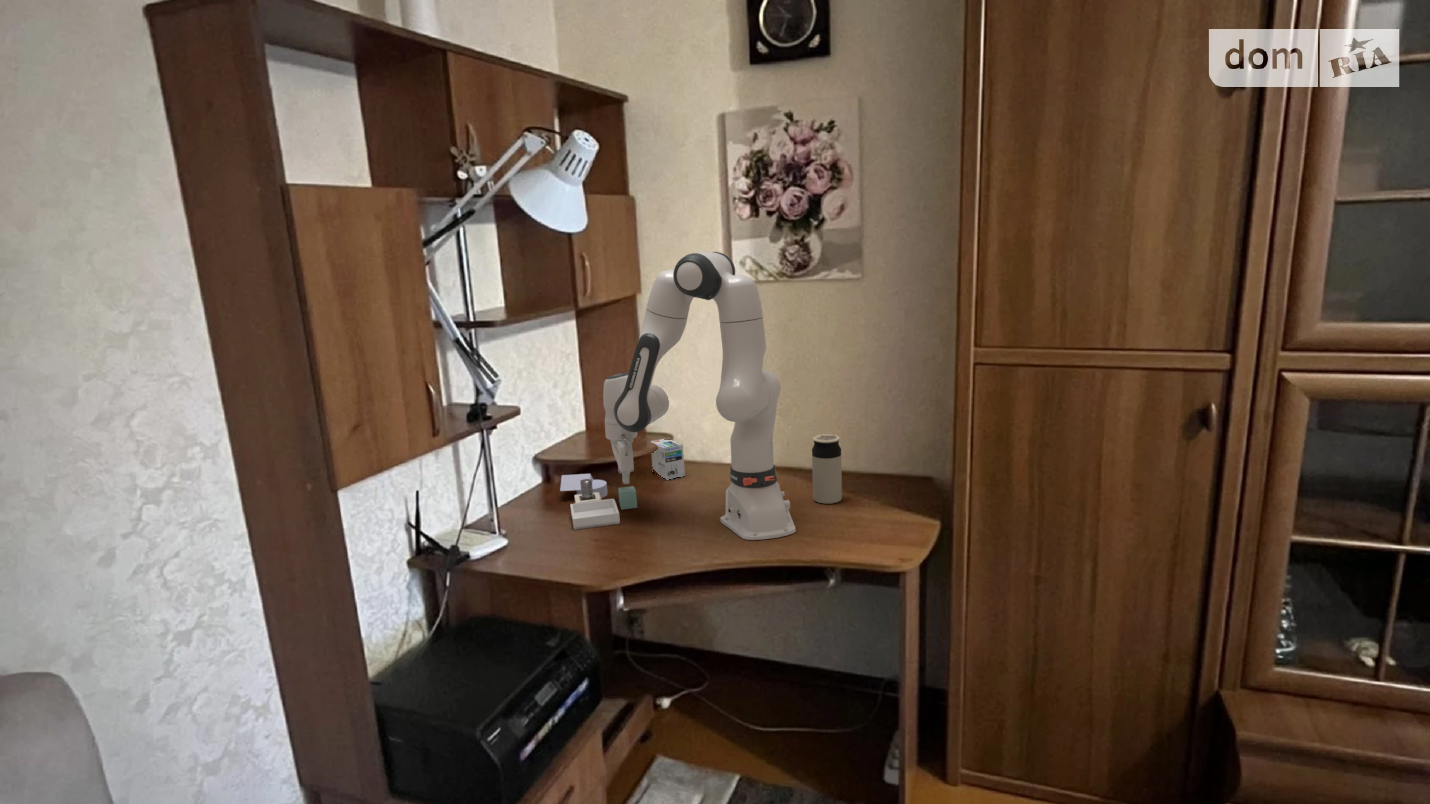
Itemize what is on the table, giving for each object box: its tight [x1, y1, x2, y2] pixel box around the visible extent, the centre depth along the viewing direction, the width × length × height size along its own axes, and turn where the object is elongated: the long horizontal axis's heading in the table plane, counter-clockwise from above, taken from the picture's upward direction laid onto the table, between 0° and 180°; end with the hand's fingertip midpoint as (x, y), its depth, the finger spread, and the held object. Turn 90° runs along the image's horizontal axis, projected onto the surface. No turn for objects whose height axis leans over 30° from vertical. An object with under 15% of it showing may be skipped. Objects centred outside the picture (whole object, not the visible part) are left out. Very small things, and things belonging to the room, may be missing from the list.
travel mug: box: [811, 433, 843, 505], centre depth 215 cm, size 8×8×18 cm
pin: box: [580, 479, 593, 501], centre depth 220 cm, size 3×3×8 cm
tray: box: [569, 498, 621, 531], centre depth 211 cm, size 12×12×3 cm
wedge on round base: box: [559, 473, 608, 499], centre depth 231 cm, size 9×7×13 cm
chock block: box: [617, 485, 638, 511], centre depth 220 cm, size 4×4×5 cm
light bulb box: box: [649, 438, 686, 481], centre depth 246 cm, size 11×7×11 cm, turn 30°
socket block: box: [574, 492, 602, 504], centre depth 220 cm, size 7×7×3 cm
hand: (623, 477), depth 219 cm, fingers open, 8 cm apart
